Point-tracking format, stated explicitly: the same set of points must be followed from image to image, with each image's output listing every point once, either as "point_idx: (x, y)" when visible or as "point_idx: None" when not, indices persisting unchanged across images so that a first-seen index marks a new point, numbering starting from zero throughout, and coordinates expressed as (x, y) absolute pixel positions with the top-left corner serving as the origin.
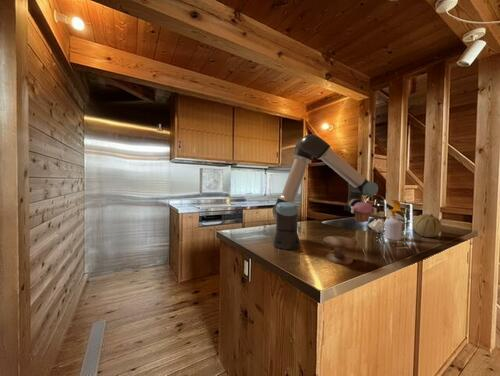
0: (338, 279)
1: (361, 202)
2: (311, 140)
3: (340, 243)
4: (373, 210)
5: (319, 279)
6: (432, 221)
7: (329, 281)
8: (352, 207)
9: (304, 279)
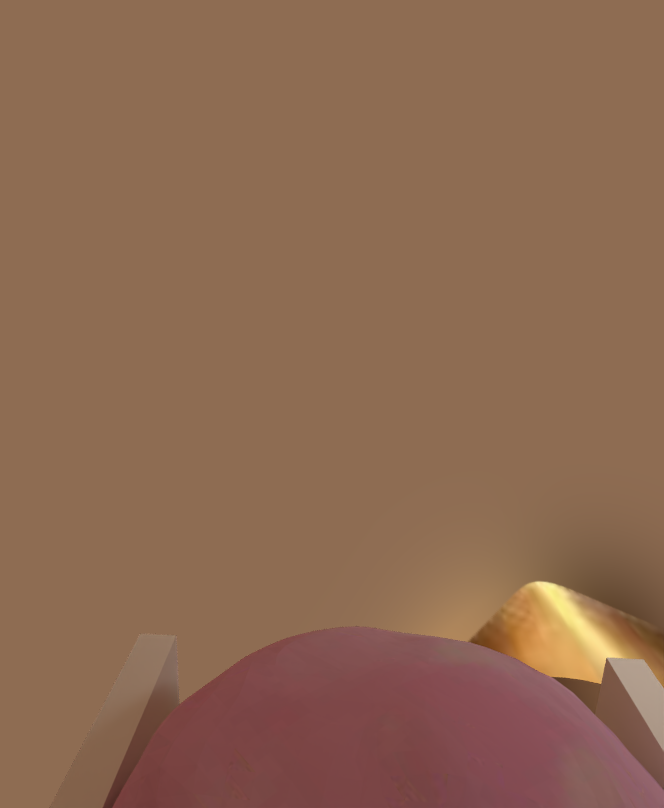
0: (500, 642)
1: (468, 695)
2: None
3: None
4: None
5: (570, 628)
6: None
7: (529, 623)
8: (641, 669)
9: (622, 618)
